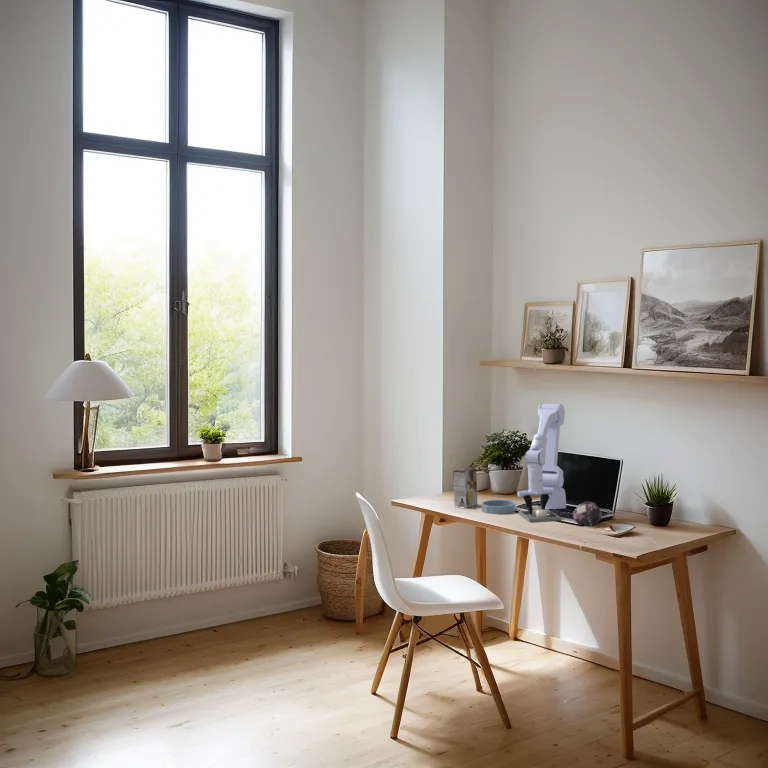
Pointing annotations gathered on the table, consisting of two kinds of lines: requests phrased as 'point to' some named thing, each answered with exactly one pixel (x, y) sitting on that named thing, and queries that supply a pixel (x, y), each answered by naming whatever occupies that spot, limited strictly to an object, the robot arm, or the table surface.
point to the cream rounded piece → (541, 513)
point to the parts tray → (530, 518)
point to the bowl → (498, 506)
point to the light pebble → (535, 510)
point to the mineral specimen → (587, 514)
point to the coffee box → (465, 487)
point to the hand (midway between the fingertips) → (536, 513)
